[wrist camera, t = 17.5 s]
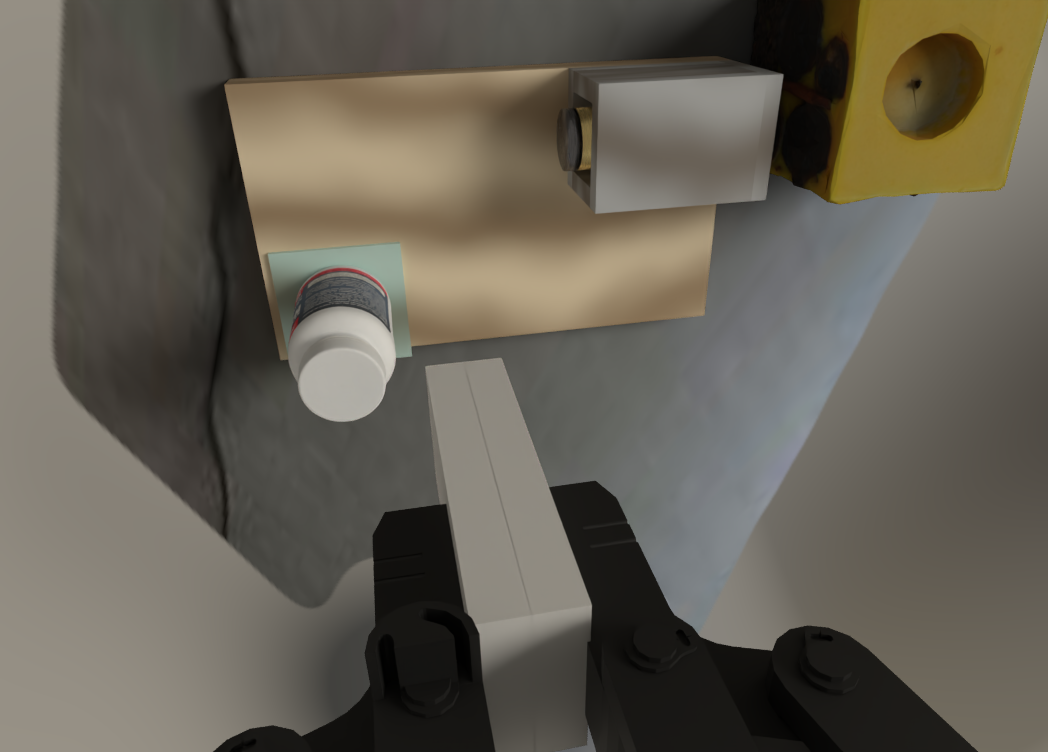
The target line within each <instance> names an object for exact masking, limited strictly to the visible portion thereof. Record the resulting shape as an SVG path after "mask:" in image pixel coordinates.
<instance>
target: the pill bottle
mask: <svg viewBox="0 0 1048 752" xmlns="http://www.w3.org/2000/svg"><path fill="white" fill-rule="evenodd" d="M288 360H289V365H290V368H291V371H292V373H293V375H294V377H295V379H296V380H297V382H298V390H299V394H300V396H301V399H302V400H303V402H304V404H305V405H306V406H307V407H308V408H309V409H310V410H311V411H312V412H313V413H315V414H316V415H318V416H320V417H322V418H325V419H328V420H331V421H339V422H346V421H353V420H356V419H359V418H362V417H364V416H366V415H368V414H369V413H371V412H372V411H373V410H374V409H375V408H376V407H377V406H378V405H379V404H380V402H381V400H382V398H383V396H384V393H385V388H386V383H387V382H388V381H389V379H390V377H391V375H392V373H393V370H394V367H395V361H396V351H395V344H394V337H393V328H392V312H391V303H390V299H389V296H388V294H387V291H386V290H385V288H384V286H383V285H382V284H381V282H380V281H379V280H378V279H377V278H376V277H374V276H373V275H372V274H370V273H368V272H367V271H365V270H362V269H360V268H356V267H352V266H332V267H328V268H325V269H322V270H320V271H318V272H316V273H315V274H313V275H312V276H311V277H309V278H308V279H307V280H306V281H305V283H304V284H303V285H302V287H301V288H300V290H299V292H298V295H297V298H296V303H295V309H294V316H293V322H292V328H291V334H290V339H289V346H288Z"/></svg>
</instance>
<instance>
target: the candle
mask: <svg viewBox="0 0 1048 752" xmlns="http://www.w3.org/2000/svg"><path fill="white" fill-rule="evenodd" d="M1047 19H1048V0H758V14H757V16H756V19H755V22H754V35H755V41H754V44H753V52H752V57H751V60H752V66H755V67H759V68H762V69H766V70H770V71H773V72H777V73H781V74H783V82H782V89H781V96H780V103H779V110H778V117H777V124H776V131H775V138H774V145H773V152H772V159H771V166H770V173H769V174H774V175H777V176H782V177H784V178H786V179H788V180H790V181H792V183H793V185H795V186H798V187H801V188H804V189H808V190H811V191H812V192H814V193H815V194H817V195H818V196H820V197H821V198H823V199H824V200H826V201H827V202H830V203H835V204H845V203H850V202H855V201H860V200H865V199H869V198H874V197H878V196H903V195H911V196H916V195H918V194H926V193H945V192H977V191H996V190H999V189H1001V188H1002V187H1003V186H1005V182H1006V178H1007V174H1008V171H1009V167H1010V162H1011V157H1012V153H1013V149H1014V145H1015V141H1016V138H1017V134H1018V130H1019V125H1020V121H1021V117H1022V112H1023V108H1024V104H1025V100H1026V96H1027V92H1028V88H1029V83H1030V80H1031V76H1032V72H1033V68H1034V65H1035V61H1036V57H1037V54H1038V50H1039V47H1040V43H1041V40H1042V36H1043V32H1044V28H1045V25H1046V22H1047Z"/></svg>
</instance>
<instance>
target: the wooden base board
mask: <svg viewBox="0 0 1048 752" xmlns="http://www.w3.org/2000/svg"><path fill="white" fill-rule="evenodd" d="M782 82H783V74H781V73H777V72H773V71H770V70H766V69H762V68H759V67H755V66H752V65H748V64H744V63H741V62H737V61H733V60H730V59H726V58H722V57H719V56H704V57H683V58H662V59H641V60H619V61H598V62H577V63H556V64H535V65H514V66H493V67H472V68H450V69H429V70H408V71H387V72H366V73H345V74H324V75H303V76H281V77H260V78H239V79H229V80H228V81H227V82H226V83H225V84H224V87H225V92H226V96H227V101H228V106H229V111H230V116H231V121H232V126H233V131H234V135H235V140H236V145H237V150H238V155H239V160H240V165H241V170H242V174H243V179H244V184H245V189H246V194H247V199H248V204H249V209H250V213H251V218H252V223H253V228H254V233H255V238H256V243H257V248H258V252H259V257H260V262H261V267H262V272H263V277H264V282H265V287H266V291H267V296H268V301H269V306H270V311H271V316H272V321H273V326H274V330H275V335H276V340H277V345H278V350H279V355H280V360H288V346H289V339H290V334H291V328H292V322H293V316H294V309H295V303H296V298H297V295H298V292H299V290H300V288H301V287H302V285H303V284H304V283H305V281H306V280H307V279H308V278H309V277H311V276H312V275H313V274H315V273H316V272H318V271H320V270H322V269H325V268H328V267H332V266H352V267H356V268H360V269H362V270H365V271H367V272H368V273H370V274H372V275H373V276H374V277H376V278H377V279H378V280H379V281H380V282H381V284H382V285H383V286H384V288H385V290H386V291H387V294H388V296H389V299H390V303H391V312H392V328H393V337H394V344H395V351H396V358H400V357H409V356H412V351H411V346H420V345H429V344H439V343H448V342H458V341H467V340H476V339H486V338H495V337H505V336H514V335H524V334H533V333H543V332H552V331H561V330H571V329H580V328H590V327H599V326H609V325H618V324H627V323H637V322H646V321H656V320H665V319H675V318H684V317H693V316H703V315H704V313H705V304H706V295H707V286H708V276H709V267H710V258H711V249H712V240H713V230H714V221H715V212H716V204H722V203H734V202H747V201H759V200H766V194H767V187H768V180H769V173H770V166H771V159H772V152H773V145H774V138H775V131H776V124H777V117H778V110H779V103H780V96H781V89H782ZM582 107H592V143H591V169H590V170H576V171H563V170H562V168H561V165H560V162H559V158H558V151H557V138H556V131H557V119H558V114H559V112H560V110H561V109H564V108H582ZM290 369H291V368H290Z"/></svg>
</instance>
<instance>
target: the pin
mask: <svg viewBox="0 0 1048 752" xmlns="http://www.w3.org/2000/svg"><path fill="white" fill-rule="evenodd" d="M556 138H557V151H558V158H559V162H560V165H561V168H562V170H563V171H576V170H590V169H591V143H592V107H582V108H564V109H561V110H560V112H559V114H558V119H557V131H556Z"/></svg>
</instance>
